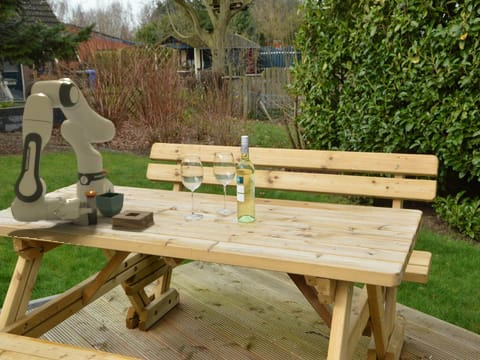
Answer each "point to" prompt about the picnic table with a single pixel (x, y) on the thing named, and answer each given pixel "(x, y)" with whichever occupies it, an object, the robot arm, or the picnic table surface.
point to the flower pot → (110, 203)
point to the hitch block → (132, 219)
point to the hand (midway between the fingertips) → (92, 207)
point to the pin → (91, 203)
